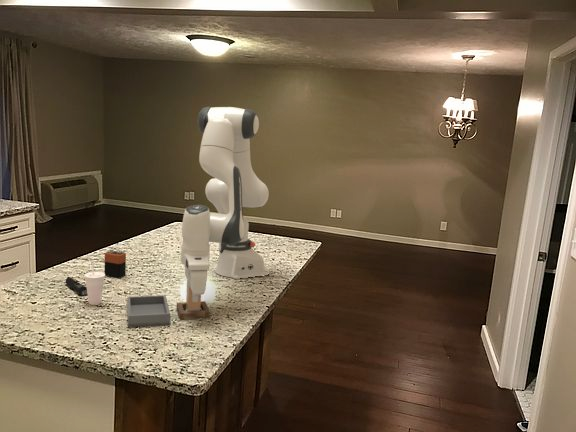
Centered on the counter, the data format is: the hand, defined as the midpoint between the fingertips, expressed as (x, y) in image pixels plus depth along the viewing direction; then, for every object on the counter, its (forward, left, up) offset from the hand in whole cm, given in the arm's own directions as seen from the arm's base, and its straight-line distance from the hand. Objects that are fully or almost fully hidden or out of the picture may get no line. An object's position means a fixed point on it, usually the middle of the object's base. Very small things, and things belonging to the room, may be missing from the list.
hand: (193, 298), depth 156 cm
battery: (+24, -41, -5) cm, 48 cm away
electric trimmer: (+37, -26, -6) cm, 45 cm away
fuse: (0, 0, -4) cm, 4 cm away
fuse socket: (0, 0, -5) cm, 5 cm away
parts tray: (+14, 0, -5) cm, 15 cm away
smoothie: (+30, -13, -5) cm, 33 cm away
